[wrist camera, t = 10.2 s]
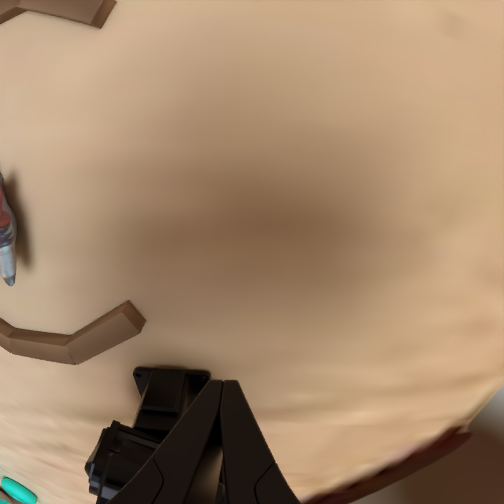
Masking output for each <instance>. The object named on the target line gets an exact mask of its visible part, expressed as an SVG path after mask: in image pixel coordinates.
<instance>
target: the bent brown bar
mask: <svg viewBox="0 0 504 504" xmlns="http://www.w3.org/2000/svg"><path fill="white" fill-rule="evenodd" d="M115 3H116V1H115V0H0V24H1V23H3V22H5V21H7V20H9V19H11V18H13V17H15V16H17V15H19V14H21V13H23V12H25V11H27V10H29V11H34V12H39V13H44V14H48V15H52V16H57V17H61V18H65V19H69V20H73V21H77V22H80V23H84V24H87V25H91V26H94V27H98V28H101V27H102V26H103V24H104V22H105V20H106V18H107V17H108V15H109V13H110V12H111V10H112V8H113V7H114V5H115ZM145 322H146V320H145V319H144V318H143V317H142V316H141V315H140V313H139V312H138V311H137V310H136V309H135V308H134V306H133V305H132V304H131V303H130V302H129V301H127V302H125V303H124V304H122V305H120V306H119V307H117V308H115V309H114V310H112V311H110V312H109V313H107V314H105V315H104V316H102V317H100V318H99V319H97V320H95V321H94V322H92V323H91V324H89V325H87V326H86V327H84V328H82V329H81V330H79V331H78V332H76V333H74V334H73V335H63V334H54V333H46V332H38V331H31V330H23V329H17V328H14V327H12V326H11V325H10V324H8V323H7V322H5V321H4V320H2V319H1V318H0V346H1V347H3V348H4V349H6V350H7V351H8V352H10V353H11V352H12V354H15V355H20V356H25V357H30V358H35V359H41V360H46V361H52V362H58V363H65V364H71V365H76V364H77V365H78V364H80V363H82V362H84V361H86V360H88V359H90V358H92V357H94V356H96V355H98V354H100V353H102V352H104V351H106V350H108V349H110V348H112V347H114V346H116V345H118V344H120V343H122V342H124V341H126V340H128V339H130V338H131V337H133V336H135V335H137V334H139V333H140V332H141V330H142V328H143V326H144V324H145Z"/></svg>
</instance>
